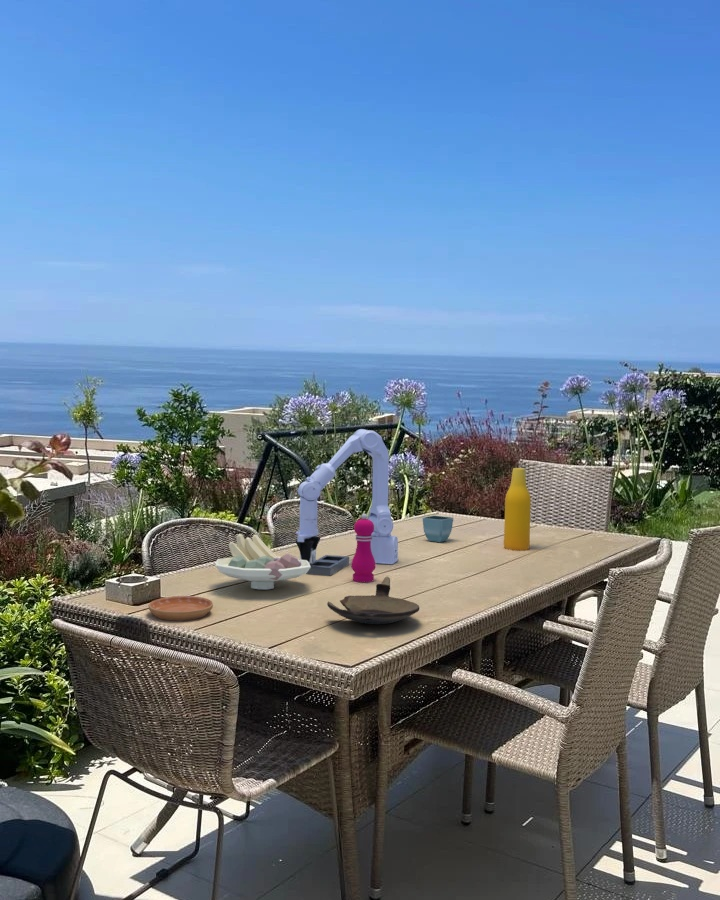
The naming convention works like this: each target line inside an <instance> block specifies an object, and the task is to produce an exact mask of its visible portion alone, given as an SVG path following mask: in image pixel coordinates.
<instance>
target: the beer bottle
mask: <svg viewBox="0 0 720 900" xmlns="http://www.w3.org/2000/svg"><path fill="white" fill-rule="evenodd" d="M531 504H532V498H531V494H530V492H529V490H528V487H527V481H526V469H525V468H524V467H522V468H520V467H514V468H512V473H511V481H510V485H509V487H508V489H507V492H506V495H505V500H504V523H503V524H504V526H503V527H504V529H503V533H504V534H503V546H504V547H503V548H504V549H506V550H509V549H512V550H511V551H527V550H529V549H530V545H531V544H530V543H531V541H530V540H531V539H530V537H531V536H530V535H531V532H530V531H531Z"/></svg>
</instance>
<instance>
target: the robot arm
mask: <svg viewBox="0 0 720 900" xmlns="http://www.w3.org/2000/svg"><path fill="white" fill-rule="evenodd" d="M363 451H365V452H366V453H367V454H368V455H369V456H370V457H371V458H372V488H371V489H372V495H371V496H372V497H371V498H372V500H371V506H370V509H369V515H368V516H367V519H368V520H370V521H372V522H373V524H374V531H373V533H372V534H371V535H372V540H371V551H372V555H373V557H374V560H375V564H381V565H382V564H383V565H394V564H395V563H396V562H398V561H399V557H398V555H399V554H398V553H399V541H398V540H399V539H398V536H397V535H392V532H393V530H394V522H393V520H392V513H391V510H390V507H389V477H390V476H389V475H390V474H389V473H390V472H389V470H390V469H389V468H390V467H389V466H390V454H389V453H390V452H389V450H388V449H387V446H386V445H385V443H384V441H383V437H382V436H381V435H380V434H379V433H377V432H376V431H374V430H370V429H369V430H368V429H364V428H360V429H357V430H356V431H355V432H354V433H353V434H352V435H351V436H349V437H348V439H347V440H346V441H345V443H344V444H342V446H341V447H340V448H339V449H338V451H337V452H336V453H335V454H334V455H333V457H331V459H330V460H329V461H328V462H326V463H321V464H318V465H316V467H315V470H314V471H313V473H312V474H311V475H310V476H307V477H306V478H305V479H306V480H305V481H303V482H301V483H300V484H299V486H298V489H297V494H298V496H299V529H298V530H297V531H296V532H295V534H296V535H297V539H296V540H295V544H296V546H297V548H298V550H299V556H300V555H301V559H302V560H307V561H308V562H309V560H310V552H311V548H313V549H316V550H317V547H318V544H319V542H320V540H321V537H319V532H320V529H318V498H319V497H320V495H321V491H323V489H324V488H325V487H326V486H327V485H328V484H329V483H330V482H331V480H333V479H334V478H335V476H336V470H337V469H338V468H339V467H340V466H341V465H342V464H343V463H344V462H345V461H346V460H347V459H349V457H350V456H351V455H353V454H355V453H360V452H363Z"/></svg>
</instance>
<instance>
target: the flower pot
mask: <svg viewBox="0 0 720 900" xmlns="http://www.w3.org/2000/svg"><path fill="white" fill-rule="evenodd" d="M453 522H454V517H453V516H452V517H450V516H441V515H431V516H426V517H425V516H424V517H422V525H423V526H422V527H423V528H422V529H423V533H424V536H425V537H426V538H427V541H429V542H434V543H435V542H436V543H442V542H446V541H447V540H448V539H449V538H450V535H451V533H452V530H453V525H454V524H453Z"/></svg>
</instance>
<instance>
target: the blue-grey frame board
mask: <svg viewBox="0 0 720 900" xmlns="http://www.w3.org/2000/svg"><path fill="white" fill-rule="evenodd" d="M349 565H350V556H344V555H330V554H325V555H323V556H320V557H319V558H317V559H316V561H314V562H312V563H310V566H311V567H310V569H309V571H308V572H307V573H306V574H305V575H314V576H315V575H316V576H324V577H325V576H327V577H331V576H332V575H334V574H336V573H337V572H340V571H341V570H342V569H344V568H345V567H347V566H349Z"/></svg>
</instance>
